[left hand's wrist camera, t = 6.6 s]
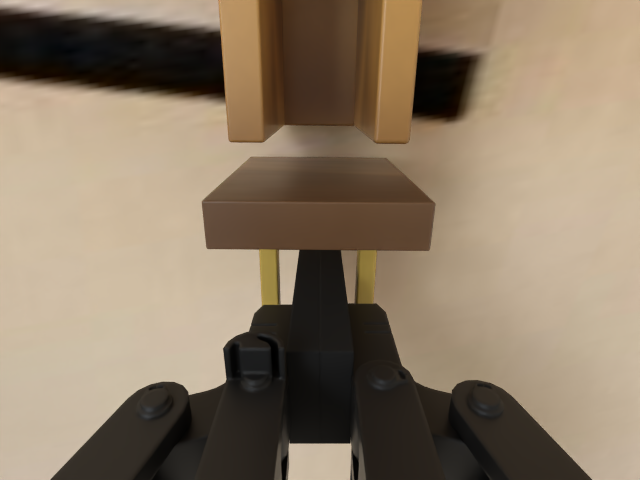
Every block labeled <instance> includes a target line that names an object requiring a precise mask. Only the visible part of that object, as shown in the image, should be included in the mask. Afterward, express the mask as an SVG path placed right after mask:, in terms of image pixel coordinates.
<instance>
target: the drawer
mask: <svg viewBox="0 0 640 480" xmlns="http://www.w3.org/2000/svg"><path fill="white" fill-rule="evenodd" d="M218 1H219V15H220V29H221V42H222V56H223V70H224V83H225V97H226V111H227V125H228V138H229V141H230V142H259V143H262V142H264V141H266V140H267V139H268V138H269V137H270V136H272V135H273V134H274V133H275V132H276V131H278V130H279V129H280V128H281V127H282V126H284V125H326V126H356V127H357V128H358V129H359V130H360V131H362V132H363V133H364V134H365V135H366V136H368V137H369V138H370V139H371V140H373V141H374V142H375V143H377V144H406V143H408V142H409V140H410V131H411V120H412V109H413V98H414V87H415V76H416V65H417V54H418V43H419V33H420V22H421V11H422V0H218ZM202 209H203V219H204V228H205V238H206V247H207V249H259V256H260V276H261V296H262V306H263V305H280V273H279V250H357V266H356V286H355V304H373V300H374V285H375V271H376V256H377V250H396V251H429V250H430V244H431V236H432V228H433V219H434V211H435V203H434V202H433V201H432V200H431V199H430V198H429V197H428V196H427V195H426V194H425V193H424V192H423V191H421V190H420V189H419V188H418V187H417V186H416V185H415V184H414V183H413V182H412V181H411V180H409V179H408V178H407V177H406V176H405V175H404V174H403V173H402V172H401V171H400V170H399V169H397V168H396V167H395V166H394V165H393V164H392V163H391V162H390V161H389V160H388V159H386V158H311V157H250V158H249V159H248V160H247V161H246V162H245V163H244V164H243V165H241V166H240V167H239V168H238V169H237V170H236V171H235V172H234V173H233V174H231V175H230V176H229V177H228V178H227V179H226V180H225V181H224V182H223V183H221V184H220V185H219V186H218V187H217V188H216V189H215V190H214V191H213V192H211V193H210V194H209V195H208V196H207V197H206V198H205V199H204V200H203V201H202Z"/></svg>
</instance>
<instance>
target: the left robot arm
mask: <svg viewBox="0 0 640 480" xmlns="http://www.w3.org/2000/svg"><path fill="white" fill-rule="evenodd" d="M223 351H224V360H225V369H226V378H227V380H226V383H224V384H223V385H221V386H219V387H217V388H214V389H211V390H208V391H205V392H200V393H196V394H192V395H189V394H188V391H187V390H186V389H185V387H184V386H183V385H180V384H178V383H175V382H160V383H155V384H151V385H148V386H146V387H144V388H142V389H140V390H138V391H137V392H135V393H134V394H133V395H132V396H130V397H129V398H128V399H127V400H126V401H125V402H124V403H123V404H122V405H121V406H120V407H119V408H118V409H117V410H116V412H115V413H114V414H113V415H112V416H111V417H110V418H109V419H108V420H107V421H106V422H105V423H104V424H103V425H102V426H101V427H100V428H99V429H98V430H97V431H96V432H95V434H94V435H93V436H92V437H91V438H90V439H89V440H88V441H87V442H86V443H85V444H84V445H83V446H82V447H81V448H80V449H79V450H78V451H77V452H76V453H75V454H74V456H73V457H72V458H71V459H70V460H69V461H68V462H67V463H66V464H65V465H64V466H63V467H62V468H61V469H60V470H59V471H58V472H57V473H56V474H55V475H54V476H53V478H52V479H51V480H288V471H289V451H288V448H289V441H290V443H350V442H351V445H352V451H351V476H350V480H592V479H591V478H590V477H589V476H588V475H587V474H586V473H585V472H584V471H583V470H582V469H581V468H580V467H579V466H578V464H577V463H576V462H575V461H574V460H573V459H572V458H571V457H570V456H569V455H568V454H567V453H566V452H565V451H564V450H563V449H562V448H561V447H560V446H559V445H558V444H557V443H556V442H555V441H554V440H553V438H552V437H551V436H550V435H549V434H548V433H547V432H546V431H545V430H544V429H543V428H542V427H541V426H540V425H539V424H538V423H537V422H536V421H535V420H534V419H533V418H532V417H531V416H530V415H529V414H528V412H527V411H526V410H525V409H524V408H523V407H522V406H521V405H520V404H519V403H518V402H517V401H516V400H515V399H514V398H513V397H512V396H511V395H510V394H508V393H507V392H506V391H505V390H503V389H502V388H500V387H498V386H495V385H493V384H491V383H488V382H483V381H479V380H468V381H464V382H461V383H459V384H457V385H456V386H455V387H454V389H453V390H452V394H450V393H446V392H442V391H438V390H434V389H430V388H427V387H424V386H422V385H420V384H418V383H416V382H415V381H414V379H413V377H412V376H411V374H410V372H409V371H408V370H407V369H405V368H404V367H403V366H402V365H401V362H400V358H399V355H398V352H397V348H396V345H395V342H394V338H393V335H392V333H391V328H390V325H389V322H388V318H387V315H386V312H385V311H384V310H383V309H382V308H381V307H379V306H378V305H377V304H348V303H347V295H346V287H345V280H344V272H343V265H342V257H341V250H299V258H298V265H297V273H296V280H295V288H294V296H293V303H292V305H263V306H262V307H261V308H260V309H259V310H258V311H257V312H256V313H255V314H254V317H253V320H252V324H251V327H250V330H249V332H246V333H243V334H240V335H237V336H236V337H234V338H233V339H231V340H230V341H228V343H227V344H226V345H225V347H224V348H223Z"/></svg>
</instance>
